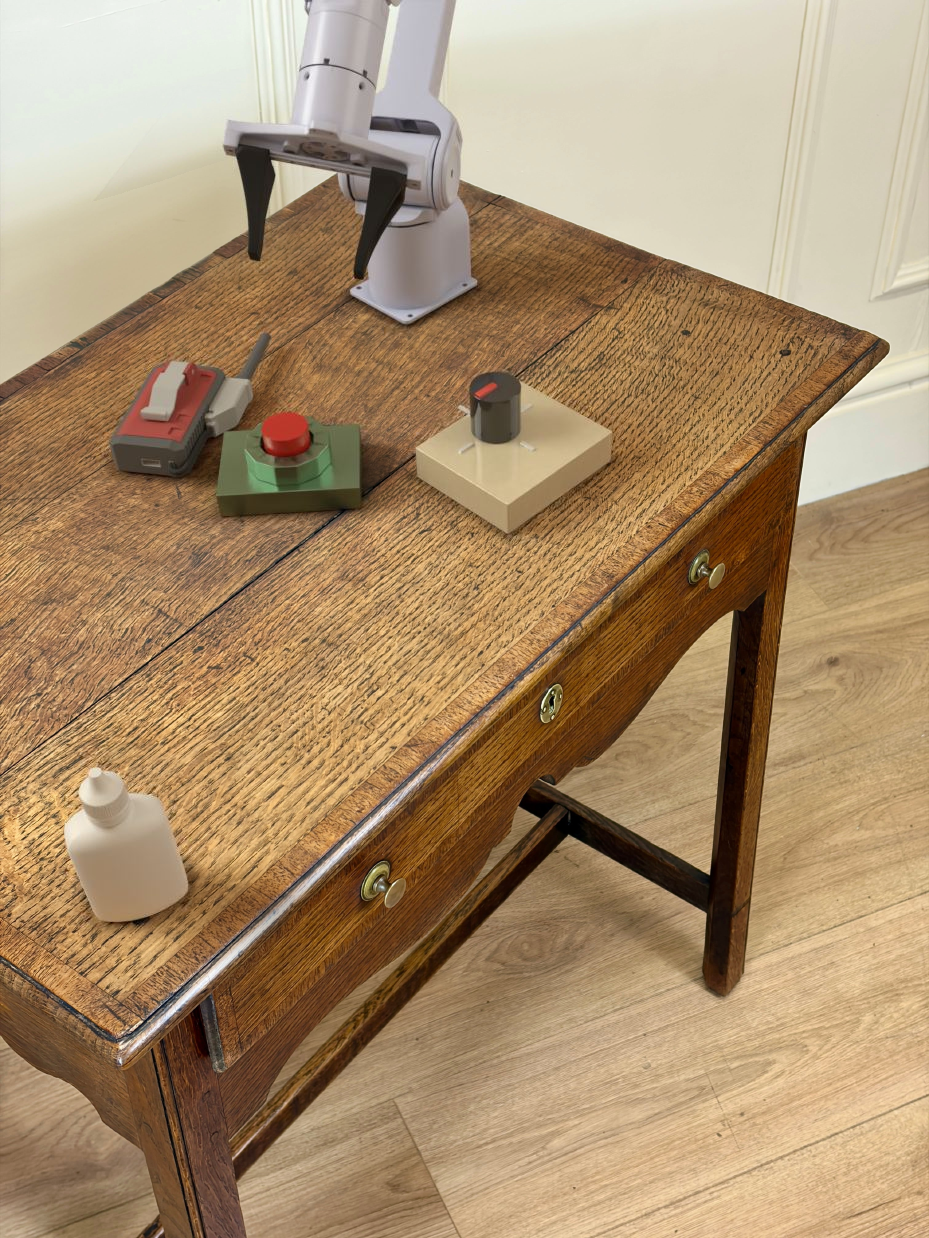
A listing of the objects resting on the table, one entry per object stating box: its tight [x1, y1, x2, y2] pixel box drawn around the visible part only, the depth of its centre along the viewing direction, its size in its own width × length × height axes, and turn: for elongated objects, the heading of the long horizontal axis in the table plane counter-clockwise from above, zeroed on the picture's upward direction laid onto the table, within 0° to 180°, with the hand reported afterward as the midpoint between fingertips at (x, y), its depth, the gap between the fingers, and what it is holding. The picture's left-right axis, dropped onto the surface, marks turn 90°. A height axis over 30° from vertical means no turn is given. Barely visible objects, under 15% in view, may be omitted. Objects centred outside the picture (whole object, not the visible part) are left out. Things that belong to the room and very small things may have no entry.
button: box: [261, 411, 311, 458], centre depth 101 cm, size 4×4×2 cm
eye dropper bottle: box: [63, 766, 189, 923], centre depth 73 cm, size 4×6×12 cm
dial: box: [468, 371, 521, 444], centre depth 101 cm, size 4×4×4 cm
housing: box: [215, 415, 363, 517], centre depth 102 cm, size 11×8×4 cm
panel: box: [414, 380, 613, 535], centre depth 103 cm, size 12×11×3 cm
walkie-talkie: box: [108, 332, 272, 479], centre depth 109 cm, size 9×4×20 cm
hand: (306, 266), depth 95 cm, fingers open, 7 cm apart
